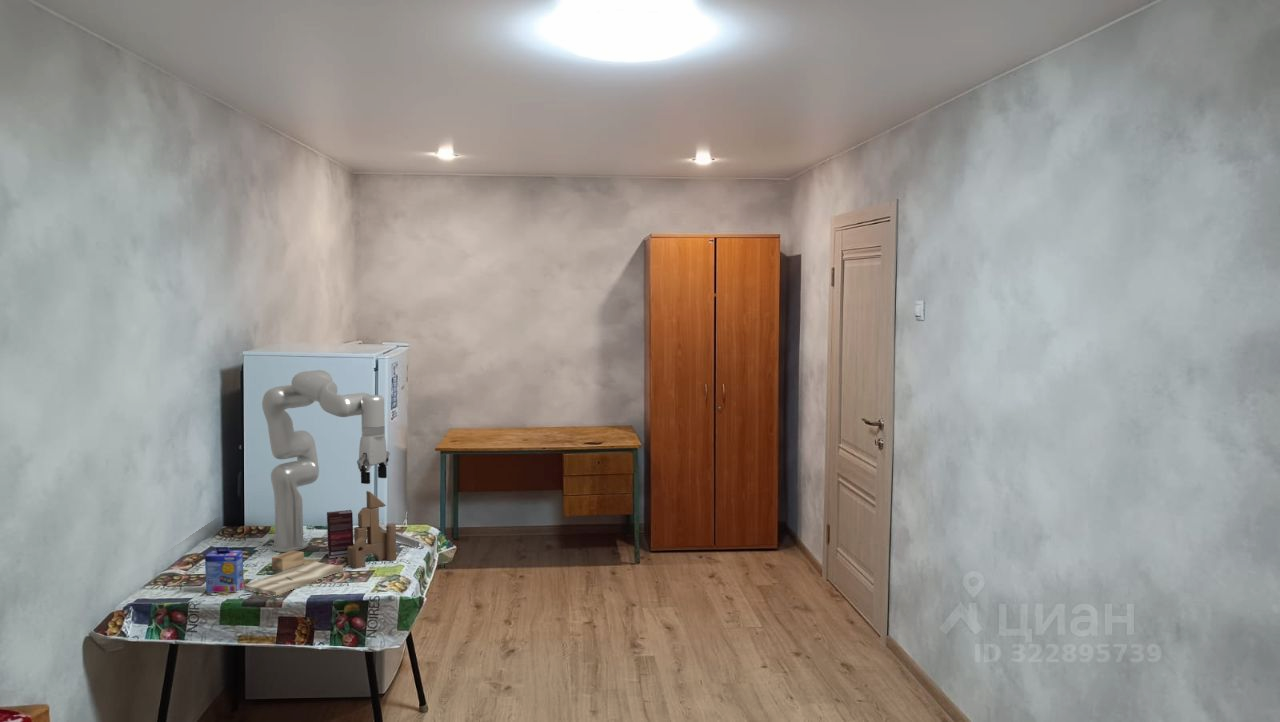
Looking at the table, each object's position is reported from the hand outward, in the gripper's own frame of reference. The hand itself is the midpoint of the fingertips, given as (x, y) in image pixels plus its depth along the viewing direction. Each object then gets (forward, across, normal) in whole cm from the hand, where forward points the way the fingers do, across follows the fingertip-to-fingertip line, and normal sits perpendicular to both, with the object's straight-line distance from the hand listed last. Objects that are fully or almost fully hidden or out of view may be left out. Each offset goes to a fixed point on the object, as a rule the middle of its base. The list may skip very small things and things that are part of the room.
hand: (374, 480), depth 298 cm
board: (+30, +22, -15) cm, 40 cm away
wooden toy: (+30, -2, -2) cm, 30 cm away
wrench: (+30, -25, -9) cm, 40 cm away
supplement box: (+30, -5, -18) cm, 35 cm away
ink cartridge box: (+30, +38, -30) cm, 56 cm away
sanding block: (+30, +13, -26) cm, 41 cm away
